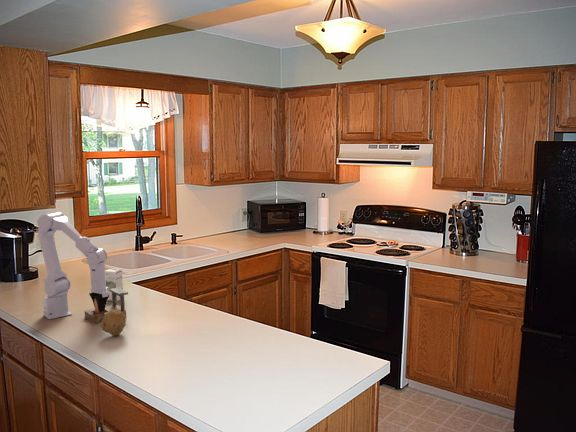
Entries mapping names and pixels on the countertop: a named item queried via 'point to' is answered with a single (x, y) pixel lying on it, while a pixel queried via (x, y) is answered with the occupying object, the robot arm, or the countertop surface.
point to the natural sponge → (113, 322)
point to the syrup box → (113, 281)
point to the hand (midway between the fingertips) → (99, 310)
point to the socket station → (108, 307)
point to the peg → (97, 308)
